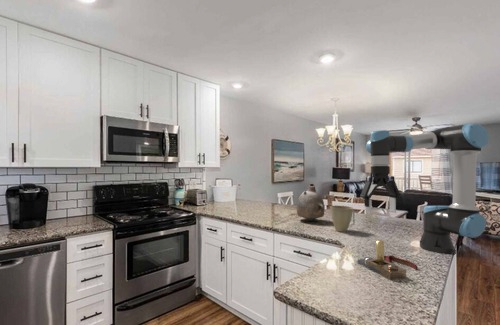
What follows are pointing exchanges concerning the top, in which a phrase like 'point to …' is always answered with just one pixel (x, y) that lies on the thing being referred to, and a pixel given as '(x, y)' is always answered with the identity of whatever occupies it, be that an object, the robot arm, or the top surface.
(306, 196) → the jug
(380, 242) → the brass pin
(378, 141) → the robot arm
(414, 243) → the top surface
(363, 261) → the chain end
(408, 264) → the pliers
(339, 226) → the plant pot
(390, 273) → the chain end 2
